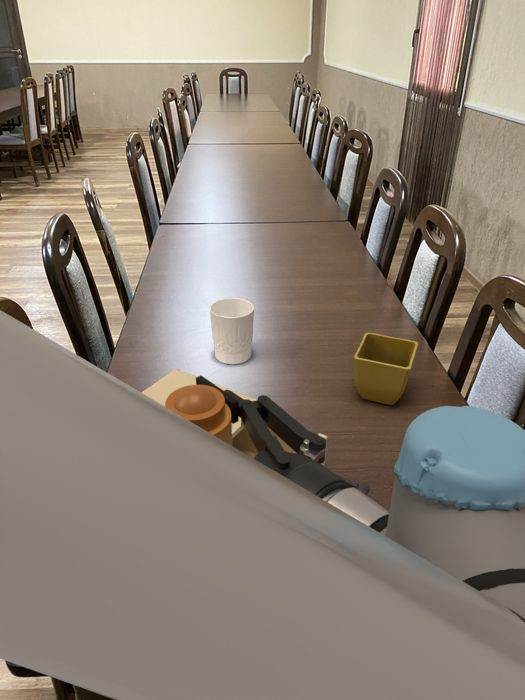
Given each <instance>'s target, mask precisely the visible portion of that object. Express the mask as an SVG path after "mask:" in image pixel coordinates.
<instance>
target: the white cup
mask: <svg viewBox="0 0 525 700" xmlns="http://www.w3.org/2000/svg"><path fill="white" fill-rule="evenodd" d="M254 316H255V306H254V304H253V303H252V302H251V301H250V300H247V299H245V298H240V297H226V298H220V299H218V300H216V301H214V302H212V303H211V304H210V306H209V318H210V326H211V327H210V328H211V335H212V341H213V342H212V343H213V346H214V347H213V348H214V356H215V359H217V361H218V362H220V363H222V364H226V365H240V364H243V363H245V362H247V361H248V360H249V359H250V358H251V356H252V344H253V338H254V336H253V335H254V318H255V317H254Z"/></svg>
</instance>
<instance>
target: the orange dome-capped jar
mask: <svg viewBox="0 0 525 700" xmlns="http://www.w3.org/2000/svg"><path fill="white" fill-rule="evenodd" d="M165 407H166V408H168V409H170V410H171V411H173V412H175V413H177V414H178V415H180V416H182V417H183V418H185V419H187V420H188V421H190V422H192V423H194V424H195V425H197V426H199V427H200V428H202V429H204V430H205V431H207V432H209V433H211V434H212V435H214V436H216V437H217V438H219V439H221V440H222V441H224V442H226V443H228V444H229V445H231V446H232V421H231V411H230V408H229V407H228V405H227V404H226V403H225V398H224V396H223V394H222V393H221V392H220V391H219V390H217V389H216V388H214V387H211V386H207V385H189V386H185V387H181V388H179V389H177V390H175V391H174V392H172V393H171V394H170V395H169V396H168V397H167V399H166V402H165Z"/></svg>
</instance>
